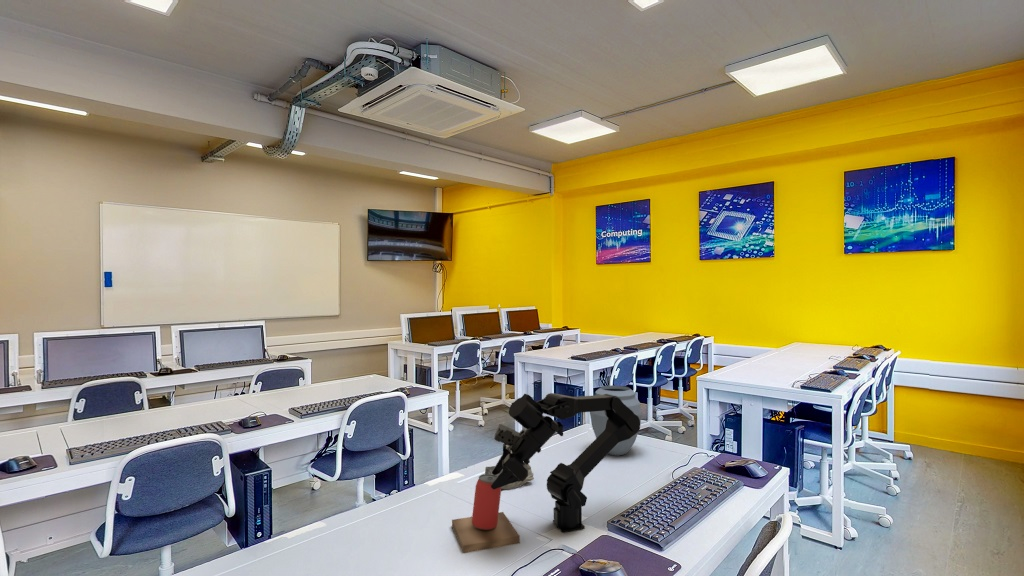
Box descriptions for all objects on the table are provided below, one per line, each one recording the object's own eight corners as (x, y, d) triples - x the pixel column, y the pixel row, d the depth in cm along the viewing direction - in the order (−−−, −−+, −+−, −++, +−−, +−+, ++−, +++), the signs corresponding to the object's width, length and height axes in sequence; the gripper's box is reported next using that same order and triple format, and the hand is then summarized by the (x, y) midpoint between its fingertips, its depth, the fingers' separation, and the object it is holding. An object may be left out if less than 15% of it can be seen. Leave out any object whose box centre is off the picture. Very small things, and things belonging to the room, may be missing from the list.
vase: (643, 446, 195) (643, 384, 195) (640, 463, 176) (640, 394, 176) (593, 442, 201) (593, 382, 201) (586, 458, 182) (585, 391, 182)
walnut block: (503, 521, 135) (502, 511, 135) (519, 546, 122) (519, 535, 122) (452, 529, 131) (452, 519, 131) (463, 556, 117) (463, 545, 117)
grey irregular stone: (491, 493, 153) (491, 480, 153) (483, 474, 168) (483, 463, 168) (539, 488, 156) (539, 476, 156) (527, 470, 171) (527, 459, 171)
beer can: (499, 522, 129) (505, 476, 129) (493, 533, 123) (499, 484, 123) (475, 517, 131) (480, 471, 131) (468, 527, 124) (473, 479, 124)
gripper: (512, 406, 136) (472, 447, 135) (513, 424, 117) (466, 472, 117) (541, 434, 136) (501, 475, 136) (547, 457, 117) (500, 505, 117)
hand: (492, 480), depth 126 cm, fingers open, 9 cm apart
